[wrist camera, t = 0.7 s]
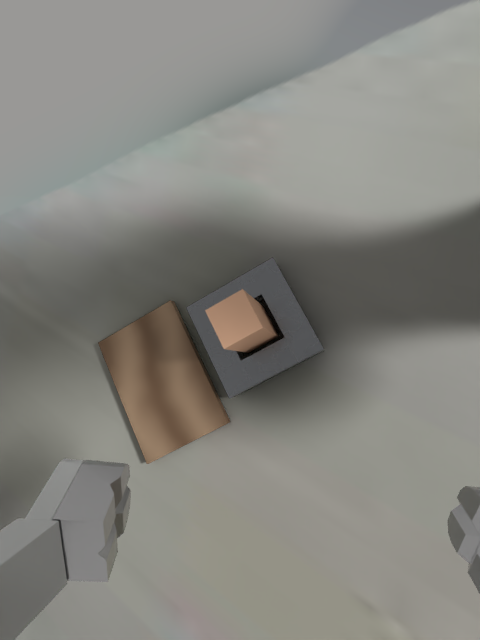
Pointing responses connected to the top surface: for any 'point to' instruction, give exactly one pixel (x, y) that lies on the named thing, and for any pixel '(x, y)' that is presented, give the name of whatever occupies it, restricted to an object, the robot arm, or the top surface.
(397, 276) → the top surface
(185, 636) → the top surface
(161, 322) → the board
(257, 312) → the peg
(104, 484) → the robot arm
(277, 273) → the socket
